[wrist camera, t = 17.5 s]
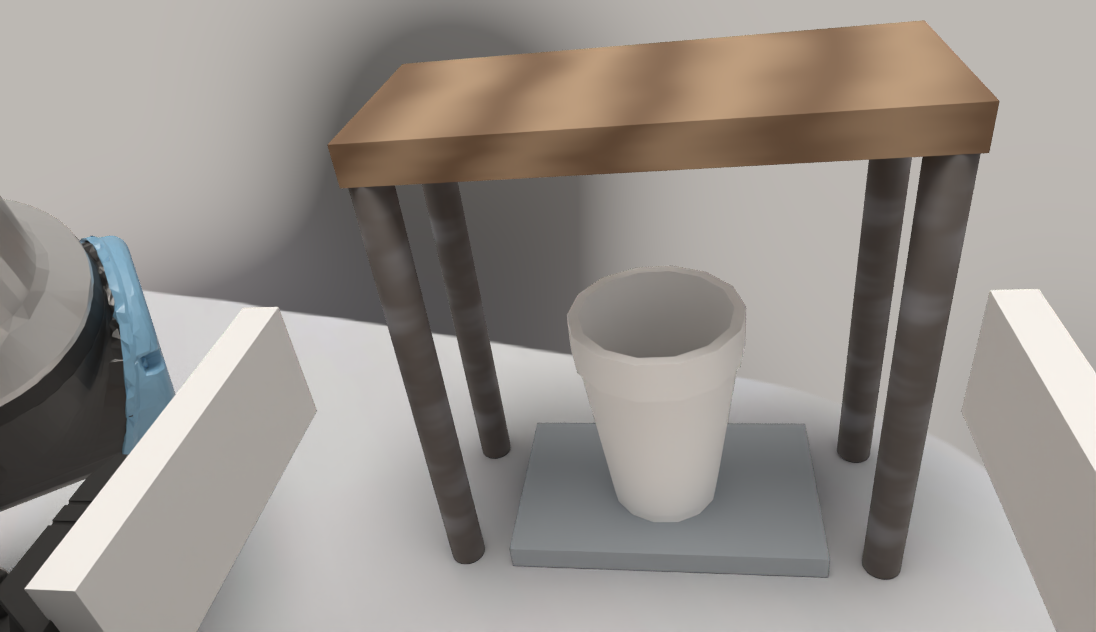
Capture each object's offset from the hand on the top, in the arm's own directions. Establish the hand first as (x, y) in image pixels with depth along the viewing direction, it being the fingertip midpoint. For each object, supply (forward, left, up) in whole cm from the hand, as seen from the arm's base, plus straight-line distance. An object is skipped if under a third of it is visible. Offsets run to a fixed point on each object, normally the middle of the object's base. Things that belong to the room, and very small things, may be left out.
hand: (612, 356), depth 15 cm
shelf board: (0, +23, -29) cm, 37 cm away
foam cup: (-1, +23, -28) cm, 36 cm away
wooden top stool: (0, +23, -29) cm, 37 cm away
